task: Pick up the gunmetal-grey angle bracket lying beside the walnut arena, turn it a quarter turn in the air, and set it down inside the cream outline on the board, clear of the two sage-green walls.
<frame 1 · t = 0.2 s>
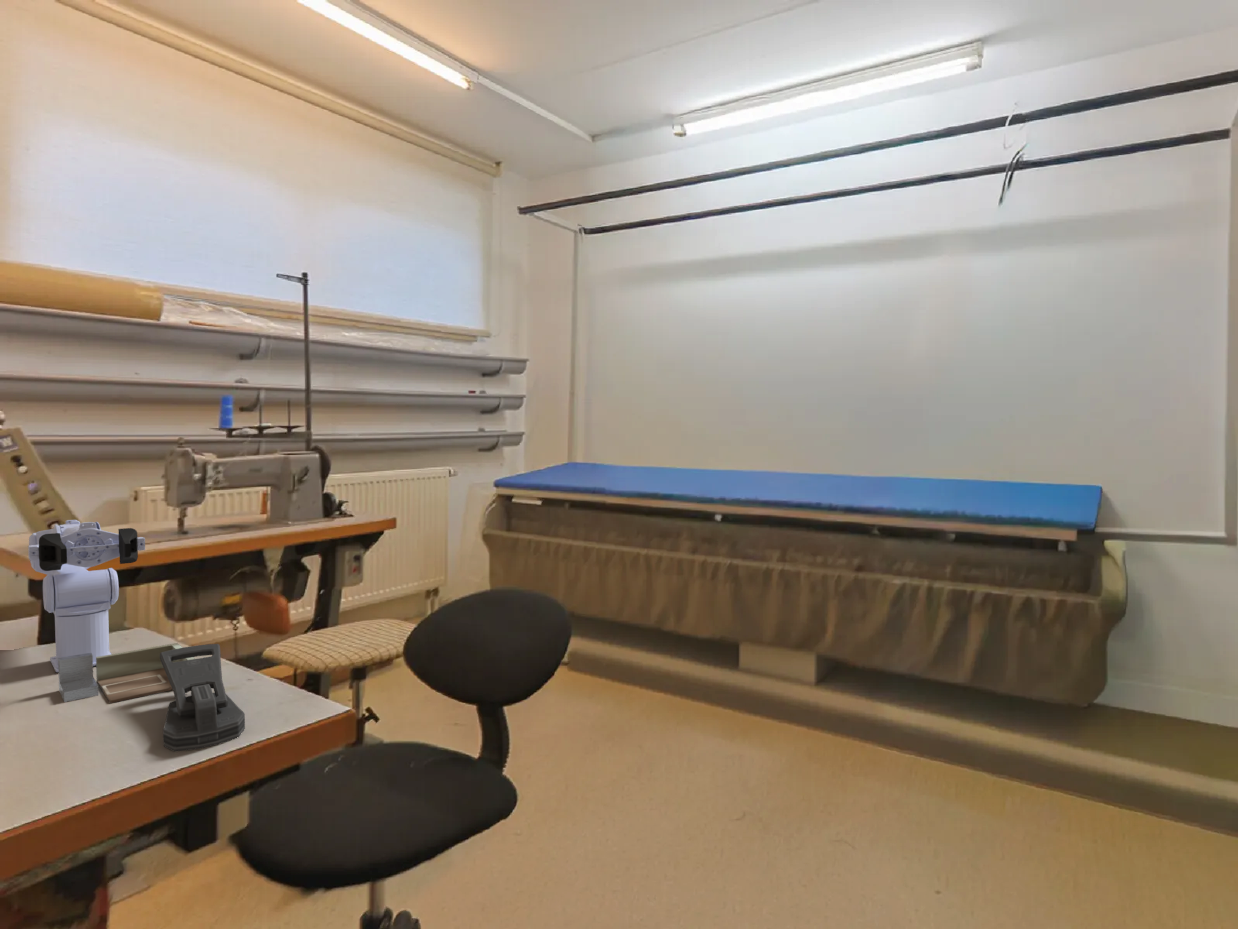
hand: (96, 553, 104), 21 cm above the table, tool horizontal, fingers open, 7 cm apart
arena: (146, 683, 109), on the table
zipper pull: (198, 716, 97), on the table
angle bracket: (78, 693, 105), on the table
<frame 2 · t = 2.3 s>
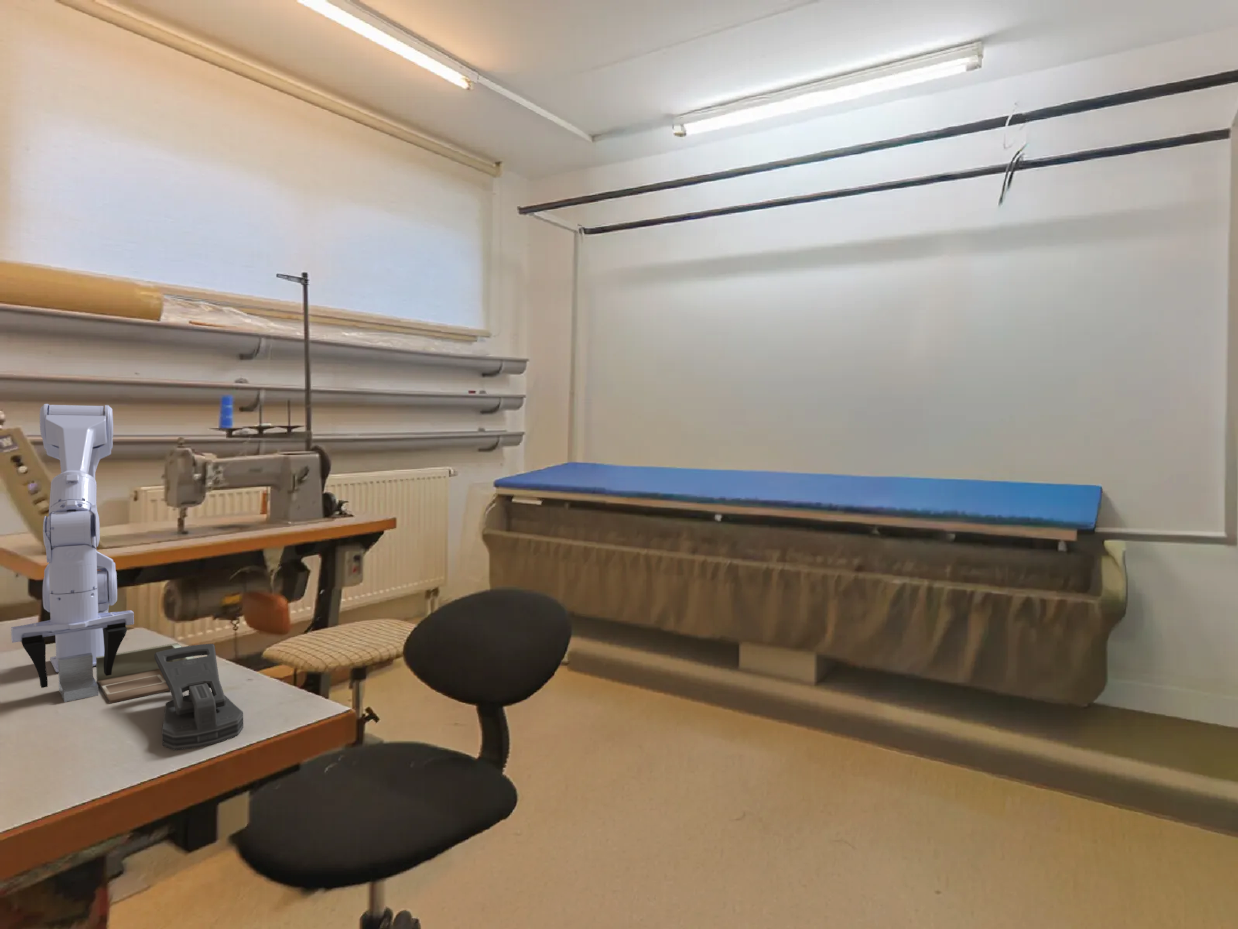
hand: (76, 679, 106), 2 cm above the table, tool pointing down, fingers open, 7 cm apart
nothing on the table moved.
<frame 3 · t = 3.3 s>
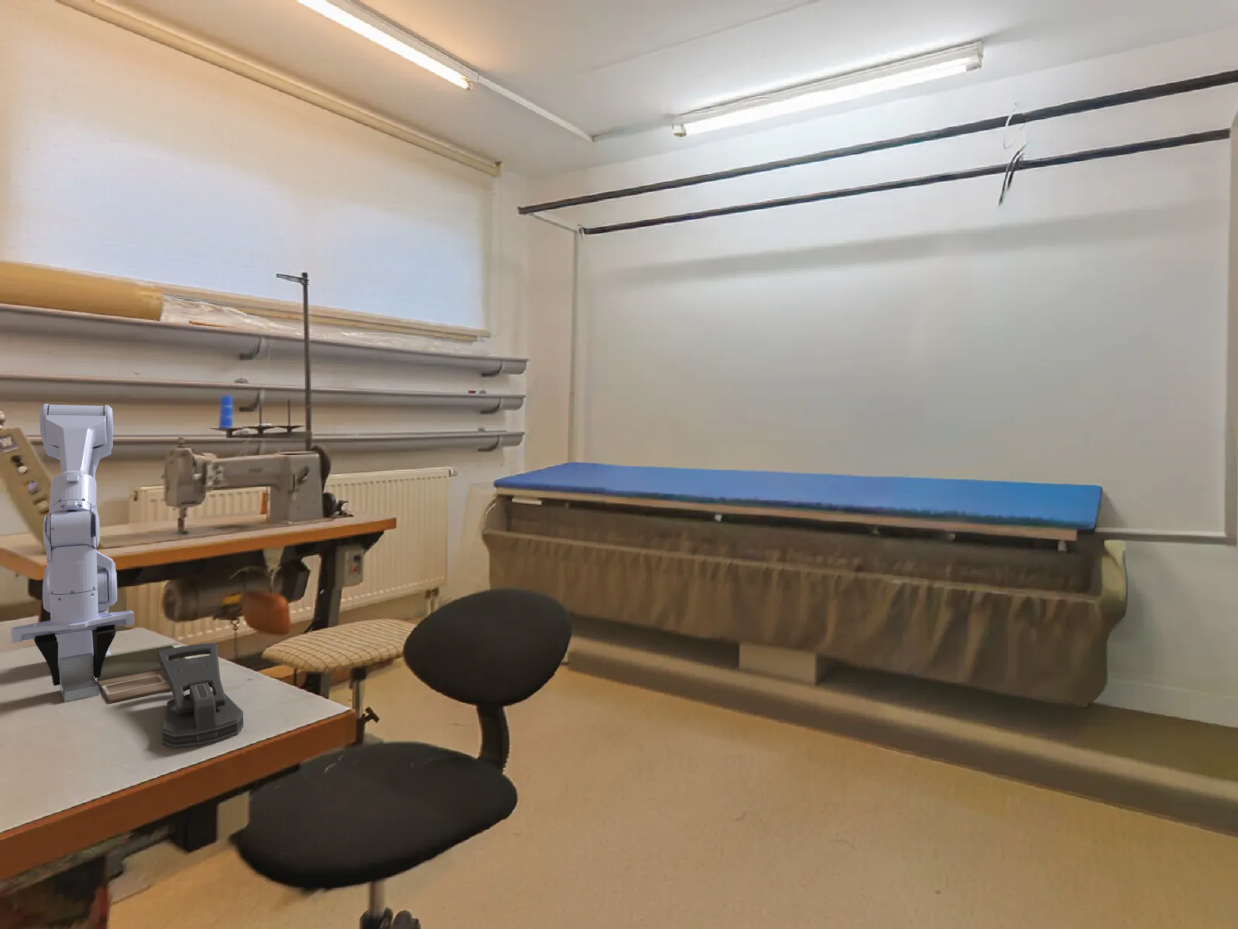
hand: (76, 680, 106), 2 cm above the table, tool pointing down, fingers open, 4 cm apart
nothing on the table moved.
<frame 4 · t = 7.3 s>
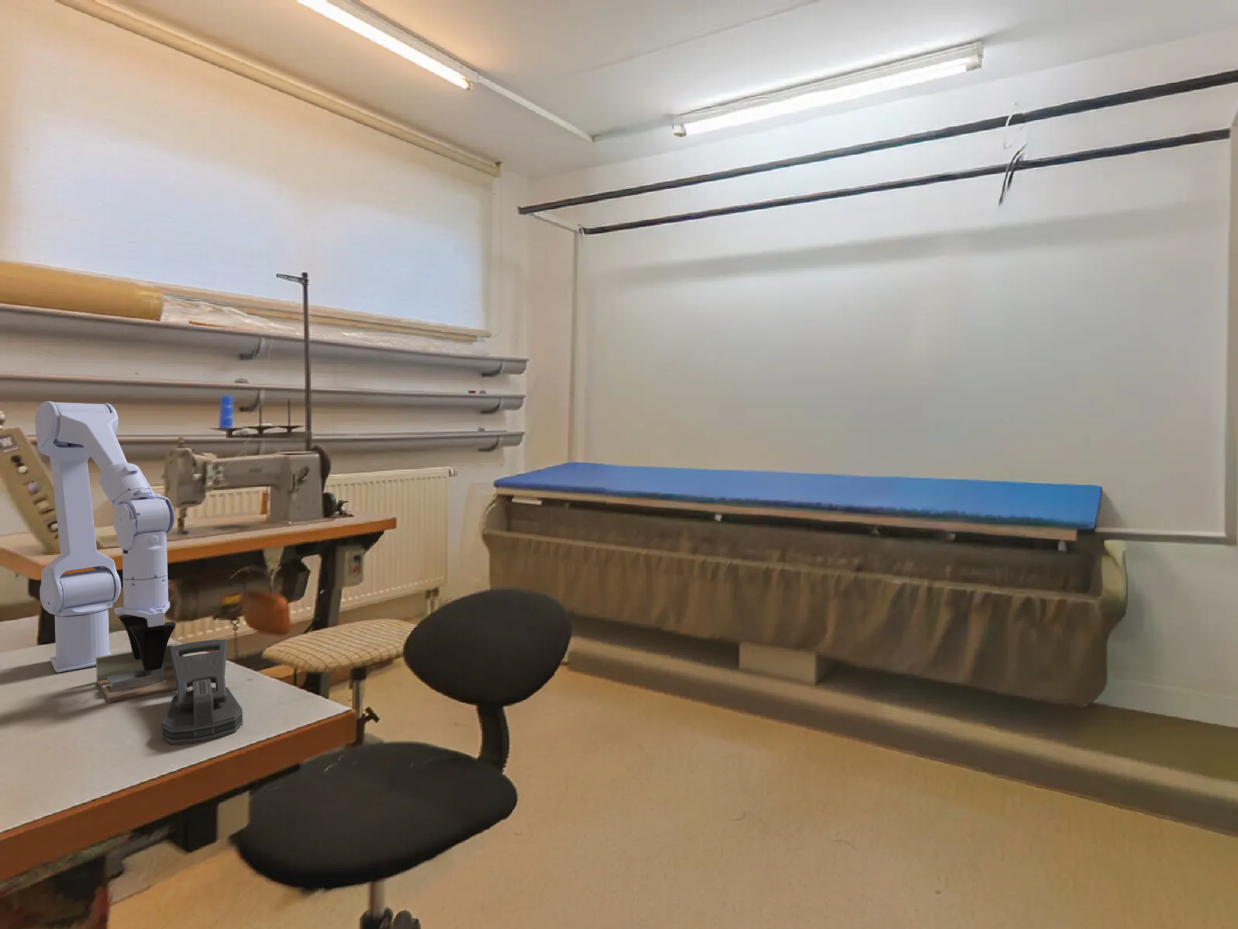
hand: (147, 663, 108), 3 cm above the table, tool pointing down, fingers open, 7 cm apart
zipper pull: (201, 710, 99), on the table, touching gripper
angle bracket: (136, 684, 107), resting on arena
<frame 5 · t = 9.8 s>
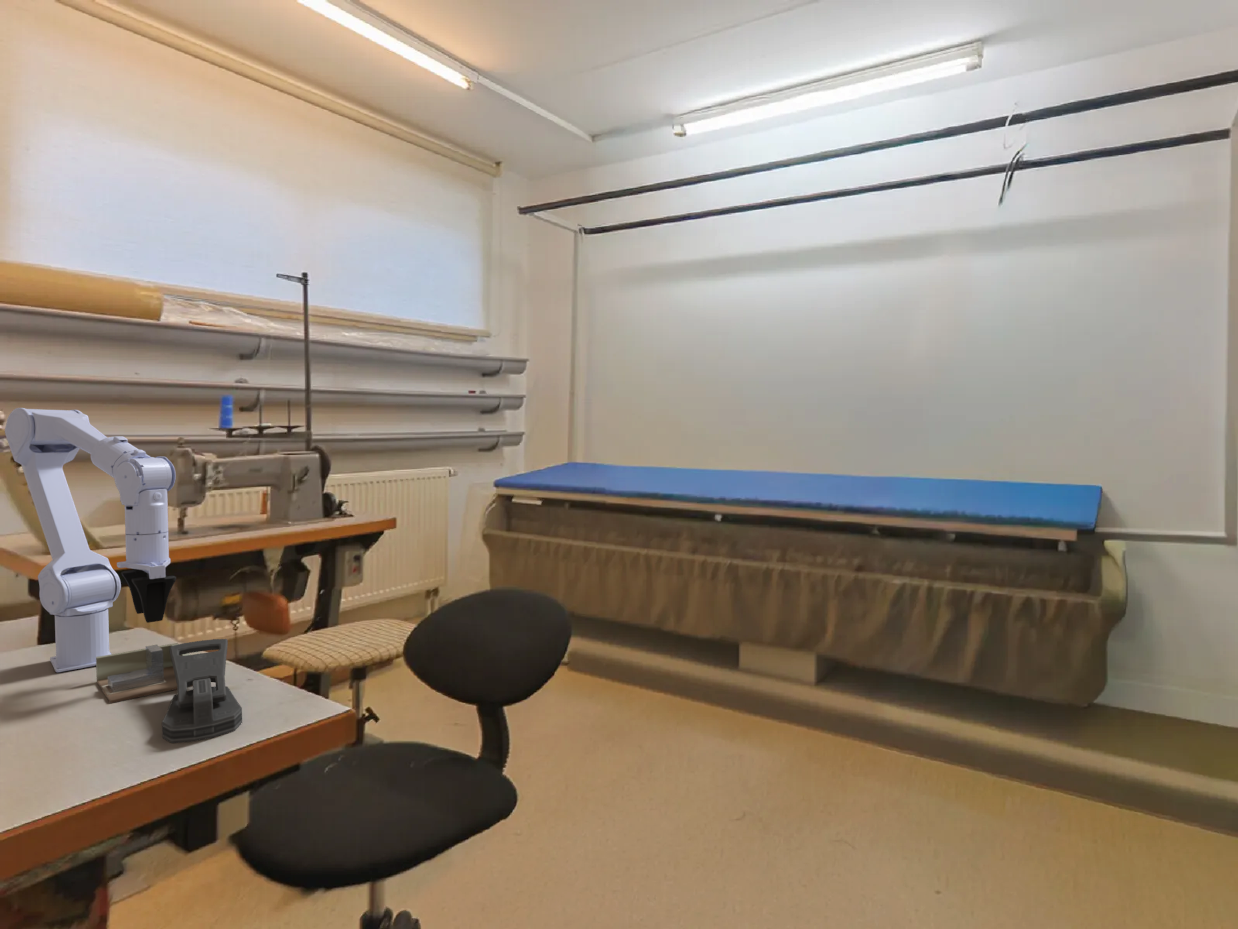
hand: (149, 616, 113), 9 cm above the table, tool pointing down, fingers open, 7 cm apart
zipper pull: (201, 709, 99), on the table
everything else where it was.
at the end: angle bracket 0.2 cm from the target spot on the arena, point 0.4 cm above the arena's base; angle bracket tilted 1°; the gripper is holding nothing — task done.
